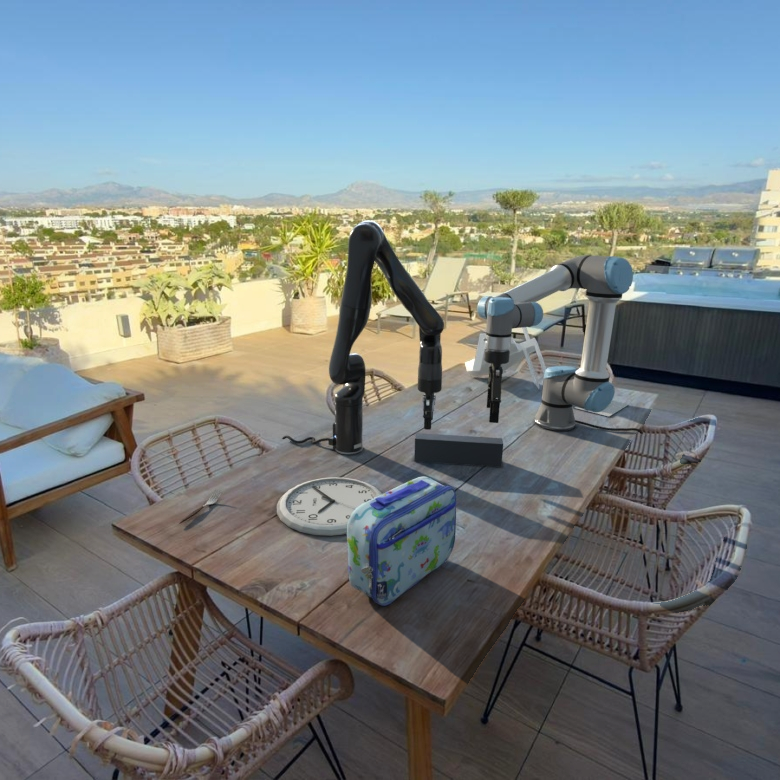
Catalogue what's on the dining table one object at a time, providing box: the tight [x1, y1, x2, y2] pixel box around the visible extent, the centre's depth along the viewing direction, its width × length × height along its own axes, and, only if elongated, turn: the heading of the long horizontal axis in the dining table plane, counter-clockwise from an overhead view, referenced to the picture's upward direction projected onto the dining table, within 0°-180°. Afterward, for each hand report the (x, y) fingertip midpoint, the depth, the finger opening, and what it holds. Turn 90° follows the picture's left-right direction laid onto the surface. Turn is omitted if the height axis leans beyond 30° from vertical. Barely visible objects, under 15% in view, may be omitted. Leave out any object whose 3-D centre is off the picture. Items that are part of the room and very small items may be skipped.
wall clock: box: [276, 476, 384, 537], centre depth 142 cm, size 30×2×30 cm
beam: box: [413, 432, 504, 468], centre depth 170 cm, size 28×5×8 cm, turn 83°
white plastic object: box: [464, 327, 547, 390], centre depth 260 cm, size 37×45×31 cm
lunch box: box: [346, 475, 457, 607], centre depth 111 cm, size 26×11×21 cm, turn 134°
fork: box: [178, 489, 223, 525], centre depth 139 cm, size 3×16×2 cm, turn 160°
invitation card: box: [573, 400, 629, 418], centre depth 226 cm, size 21×1×15 cm
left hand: (428, 424), depth 168 cm, fingers open, 8 cm apart
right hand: (492, 414), depth 165 cm, fingers open, 13 cm apart
